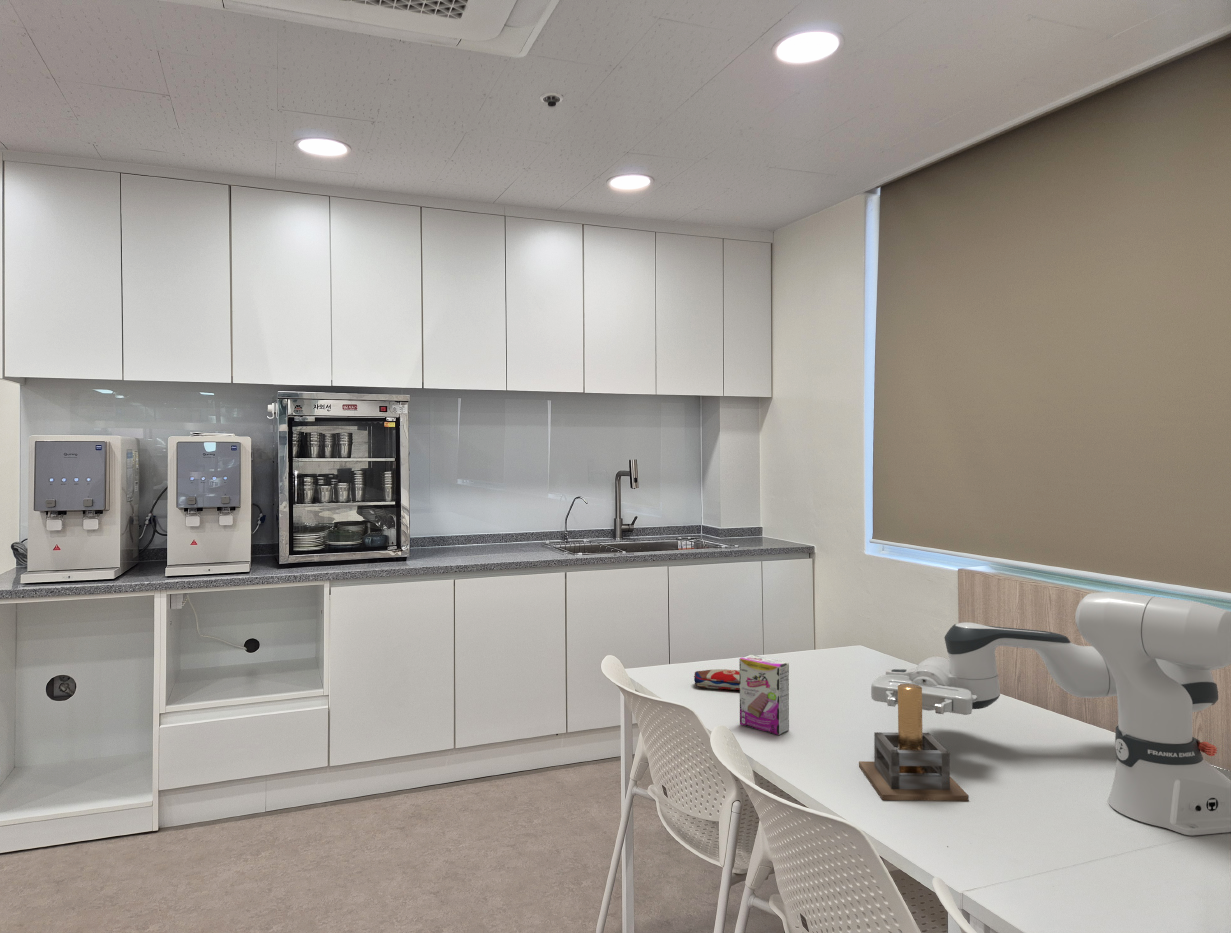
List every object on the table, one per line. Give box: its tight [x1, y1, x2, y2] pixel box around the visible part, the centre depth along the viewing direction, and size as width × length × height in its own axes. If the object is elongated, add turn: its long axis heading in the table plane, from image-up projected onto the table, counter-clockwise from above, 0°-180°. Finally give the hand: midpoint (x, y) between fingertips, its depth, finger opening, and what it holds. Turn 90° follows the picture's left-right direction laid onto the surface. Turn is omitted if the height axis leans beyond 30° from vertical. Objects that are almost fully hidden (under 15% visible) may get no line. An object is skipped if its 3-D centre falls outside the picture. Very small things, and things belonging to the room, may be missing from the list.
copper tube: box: [897, 684, 923, 773], centre depth 153 cm, size 4×4×18 cm
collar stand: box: [858, 731, 970, 802], centre depth 153 cm, size 16×16×8 cm
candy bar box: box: [739, 654, 790, 736], centre depth 184 cm, size 11×5×16 cm, turn 47°
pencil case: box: [693, 668, 740, 691], centre depth 216 cm, size 11×20×5 cm, turn 59°
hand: (914, 706), depth 159 cm, fingers open, 8 cm apart
